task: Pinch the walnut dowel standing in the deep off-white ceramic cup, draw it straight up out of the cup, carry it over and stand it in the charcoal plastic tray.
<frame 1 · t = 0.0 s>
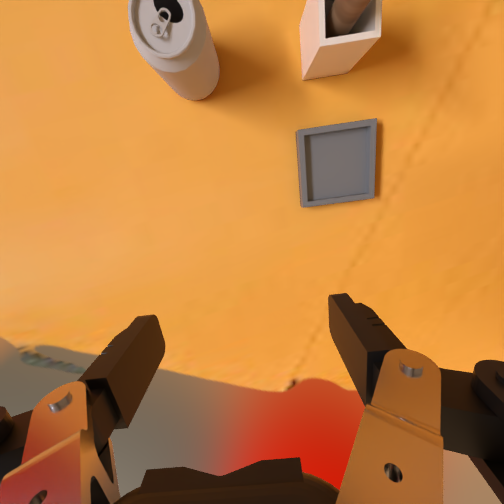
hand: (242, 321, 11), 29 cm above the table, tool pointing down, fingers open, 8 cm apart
tray: (333, 165, 36), on the table
cup: (323, 49, 31), on the table
dowel: (325, 46, 31), point 1 cm above the table, touching cup
can: (194, 72, 32), on the table
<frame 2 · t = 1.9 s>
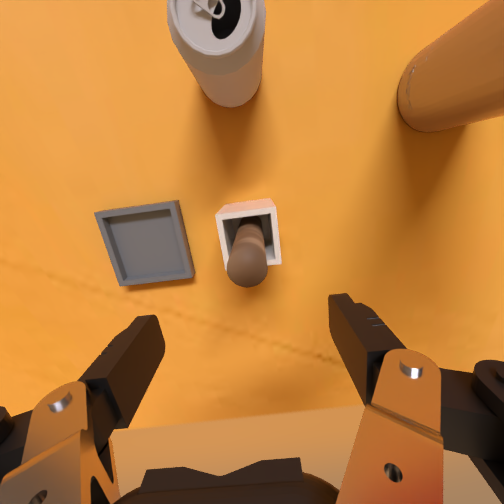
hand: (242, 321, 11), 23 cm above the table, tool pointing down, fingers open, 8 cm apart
tray: (150, 243, 34), on the table
cup: (250, 223, 33), on the table
dowel: (250, 224, 32), point 1 cm above the table, touching cup
can: (230, 74, 27), on the table
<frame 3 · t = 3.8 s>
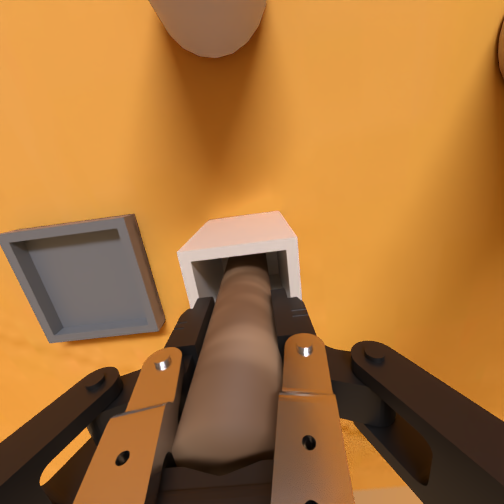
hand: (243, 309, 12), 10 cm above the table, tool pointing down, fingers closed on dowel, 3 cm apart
tray: (95, 277, 22), on the table
cup: (248, 248, 21), on the table
dowel: (248, 251, 20), point 1 cm above the table, touching cup, gripper
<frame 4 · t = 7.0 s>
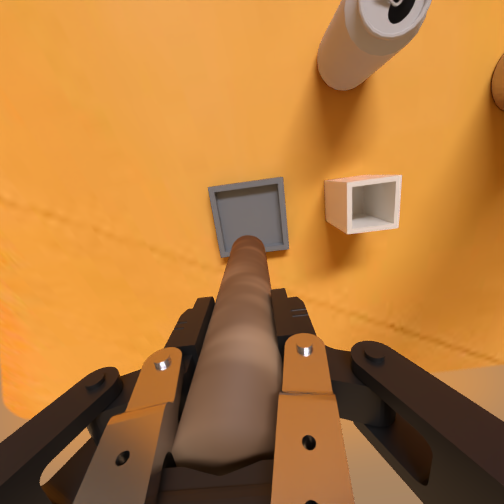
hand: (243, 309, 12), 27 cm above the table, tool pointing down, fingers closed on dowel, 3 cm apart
tray: (250, 217, 37), on the table
cup: (345, 198, 36), on the table
dowel: (248, 251, 20), point 17 cm above the table, touching gripper
can: (343, 60, 31), on the table
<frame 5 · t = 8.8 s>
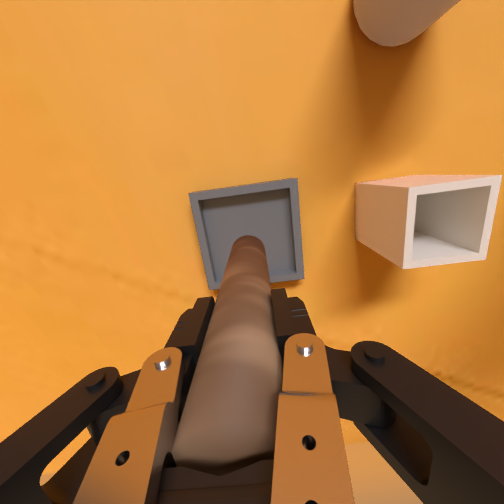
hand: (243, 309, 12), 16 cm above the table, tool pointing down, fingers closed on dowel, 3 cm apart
tray: (250, 234, 27), on the table
cup: (383, 208, 25), on the table
dowel: (248, 251, 20), point 6 cm above the table, touching gripper
can: (391, 0, 20), on the table
when the fingers open (11 cm above the table, at t = 10.1 s): dowel stays where it is, resting on tray.
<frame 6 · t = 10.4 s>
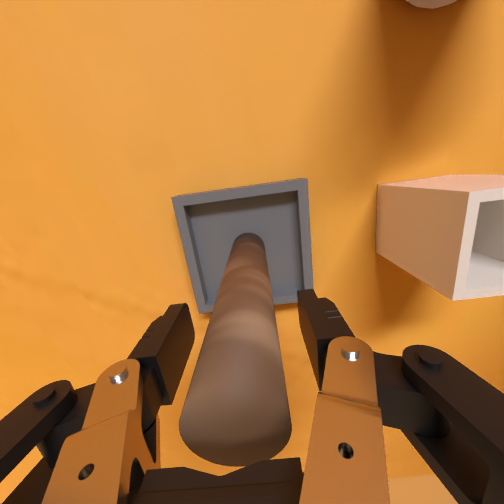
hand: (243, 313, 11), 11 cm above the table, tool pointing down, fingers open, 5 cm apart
tray: (248, 246, 22), on the table
cup: (411, 215, 21), on the table
dowel: (248, 248, 21), point 1 cm above the table, touching tray
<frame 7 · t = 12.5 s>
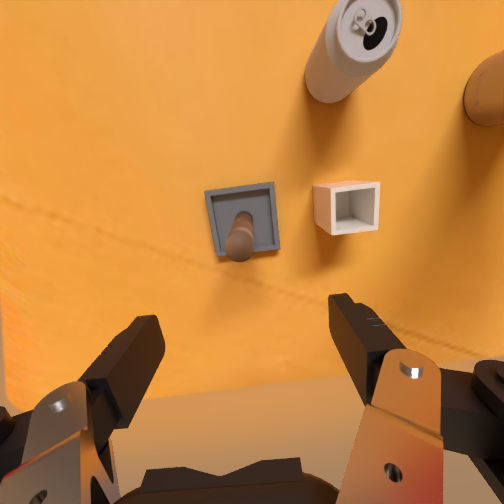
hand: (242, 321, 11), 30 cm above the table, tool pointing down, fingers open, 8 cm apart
tray: (244, 219, 40), on the table
cup: (332, 202, 39), on the table
dowel: (244, 219, 39), point 1 cm above the table, touching tray
can: (329, 75, 33), on the table
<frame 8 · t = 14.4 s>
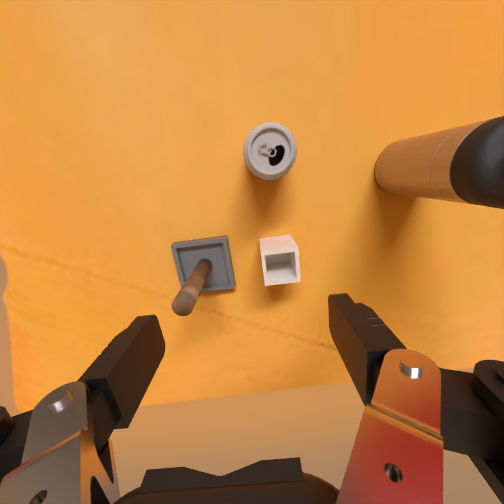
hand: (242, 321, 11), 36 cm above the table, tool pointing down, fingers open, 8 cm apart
tray: (205, 264, 49), on the table
cup: (276, 250, 48), on the table
dowel: (205, 265, 48), point 1 cm above the table, touching tray
can: (266, 157, 42), on the table
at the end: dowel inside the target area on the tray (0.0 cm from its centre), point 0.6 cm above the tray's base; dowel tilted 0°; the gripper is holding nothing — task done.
